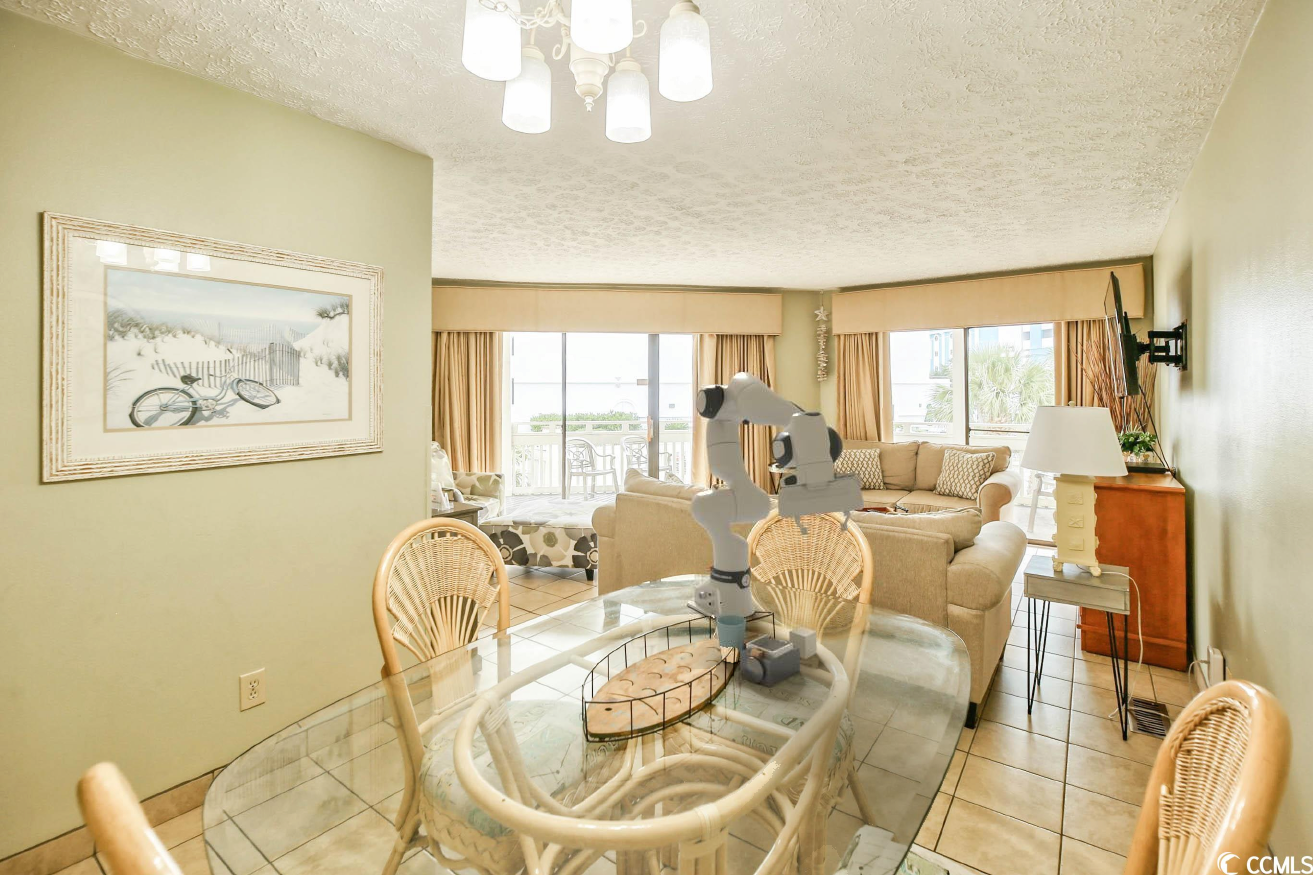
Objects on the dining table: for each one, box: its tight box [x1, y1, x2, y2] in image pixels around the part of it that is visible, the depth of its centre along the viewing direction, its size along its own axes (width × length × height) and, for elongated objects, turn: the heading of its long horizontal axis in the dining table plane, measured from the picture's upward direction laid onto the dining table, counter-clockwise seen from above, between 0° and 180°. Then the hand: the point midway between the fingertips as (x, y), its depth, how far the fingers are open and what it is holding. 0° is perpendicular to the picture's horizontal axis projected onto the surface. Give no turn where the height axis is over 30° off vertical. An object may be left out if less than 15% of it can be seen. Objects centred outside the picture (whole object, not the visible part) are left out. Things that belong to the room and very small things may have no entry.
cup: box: [715, 615, 747, 652], centre depth 160 cm, size 8×8×10 cm
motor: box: [739, 634, 801, 688], centre depth 152 cm, size 9×14×8 cm, turn 132°
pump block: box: [788, 626, 817, 660], centre depth 163 cm, size 5×6×6 cm
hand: (824, 532), depth 149 cm, fingers open, 8 cm apart
